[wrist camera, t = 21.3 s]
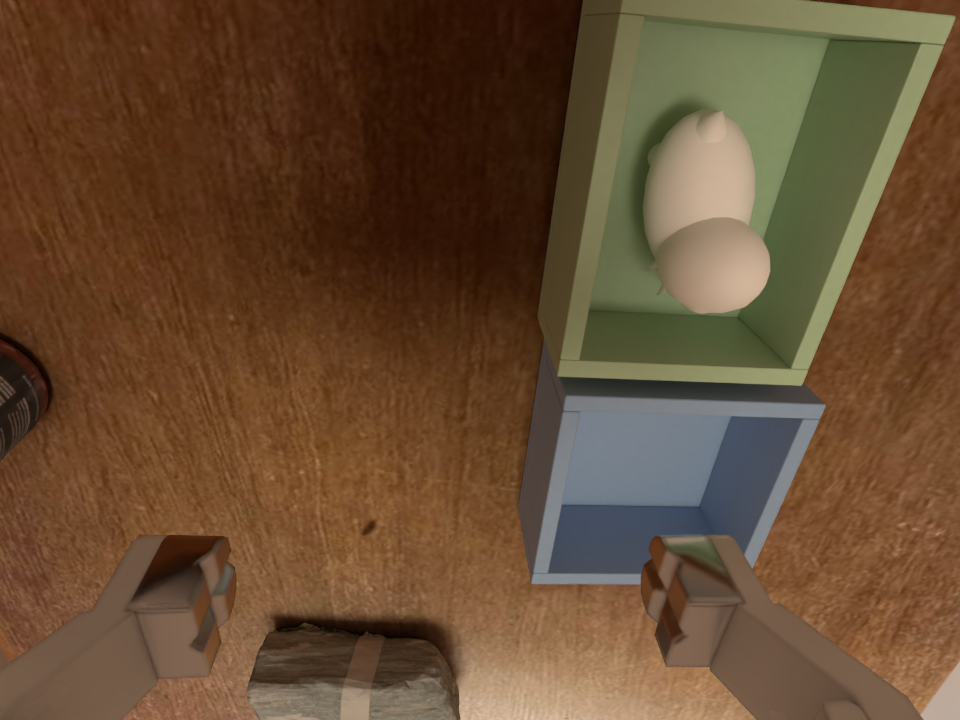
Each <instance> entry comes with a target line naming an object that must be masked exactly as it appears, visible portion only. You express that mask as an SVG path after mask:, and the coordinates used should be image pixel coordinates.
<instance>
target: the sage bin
mask: <svg viewBox="0 0 960 720" xmlns="http://www.w3.org/2000/svg"><path fill="white" fill-rule="evenodd" d="M955 18H956V16H953V15H943V14H933V13H924V12H914V11H905V10H895V9H885V8H876V7H866V6H857V5H847V4H838V3H828V2H818V1H809V0H583V3H582V10H581V17H580V24H579V31H578V38H577V45H576V51H575V58H574V65H573V72H572V79H571V86H570V93H569V100H568V107H567V114H566V121H565V128H564V135H563V142H562V149H561V156H560V163H559V169H558V176H557V183H556V190H555V197H554V204H553V211H552V218H551V225H550V232H549V239H548V246H547V253H546V260H545V267H544V274H543V281H542V287H541V294H540V301H539V308H538V315H537V317H538V320H539V324H540V327H541V330H542V333H543V335H544V338H545V341H546V344H547V347H548V350H549V353H550V356H551V359H552V362H553V365H554V368H555V371H556V374H557V376H558V377H583V378H610V379H636V380H663V381H689V382H716V383H743V384H769V385H796V386H802V384H803V382H804V379H805V377H806V374H807V372H808V369H809V367H810V364H811V362H812V360H813V357H814V355H815V352H816V350H817V348H818V345H819V343H820V340H821V338H822V336H823V333H824V331H825V329H826V326H827V324H828V321H829V319H830V317H831V314H832V312H833V309H834V307H835V305H836V302H837V300H838V297H839V295H840V293H841V290H842V288H843V286H844V283H845V281H846V278H847V276H848V274H849V271H850V269H851V266H852V264H853V262H854V259H855V257H856V254H857V252H858V250H859V247H860V245H861V243H862V240H863V238H864V235H865V233H866V231H867V228H868V226H869V223H870V221H871V219H872V216H873V214H874V211H875V209H876V207H877V204H878V202H879V199H880V197H881V195H882V192H883V190H884V188H885V185H886V183H887V180H888V178H889V176H890V173H891V171H892V168H893V166H894V164H895V161H896V159H897V156H898V154H899V152H900V149H901V147H902V145H903V142H904V140H905V137H906V135H907V133H908V130H909V128H910V125H911V123H912V121H913V118H914V116H915V113H916V111H917V109H918V106H919V104H920V102H921V99H922V97H923V94H924V92H925V90H926V87H927V85H928V82H929V80H930V78H931V75H932V73H933V70H934V68H935V66H936V63H937V61H938V58H939V56H940V54H941V51H942V49H943V44H945V42H946V40H947V37H948V35H949V33H950V30H951V28H952V25H953V23H954V21H955ZM701 109H707V110H715V111H723V113H724V114H726V115H727V116H728V117H729V118H731V119H732V120H733V121H735V122H736V123H737V124H738V125H739V126H740V128H741V130H742V131H743V133H744V135H745V137H746V139H747V141H748V143H749V145H750V148H751V152H752V157H753V162H754V167H755V172H756V173H755V200H754V205H753V210H752V214H751V219H750V223H749V227H750V228H752V229H753V230H754V231H755V232H756V233H758V234H759V235H760V237H761V238H762V239H763V241H764V244H765V246H766V248H767V250H768V252H769V255H770V274H769V277H768V280H767V283H766V286H765V287H764V288H763V290H762V291H761V293H760V294H759V295H758V296H757V297H756V298H755V299H754V300H753V301H752V302H750V303H749V304H748V305H747V306H745V307H744V308H740V309H736V310H732V311H729V312H725V313H705V314H699V313H695V312H693V311H691V310H690V309H689V308H687V307H686V306H684V307H682V304H681V303H680V302H679V301H677V300H676V299H675V298H673V297H672V296H671V295H670V294H669V293H668V292H667V290H666V291H664V292H662V293H661V294H659V295H657V294H658V292H659V290H660V288H661V286H662V282H661V280H660V279H659V275H658V270H657V268H655V269H651V270H647V271H645V270H646V269H647V268H648V267H649V266H650V265H651V264H652V263H653V262H654V261H655V260H656V259H655V258H654V256H653V255H652V253H651V250H650V247H649V244H648V240H647V238H646V234H645V229H644V216H643V200H644V191H645V183H646V178H647V175H648V172H649V169H650V165H649V163H648V159H647V157H648V153H649V151H650V149H651V148H652V147H653V146H655V145H656V144H658V143H661V142H662V140H663V139H664V137H665V135H666V134H667V132H668V131H669V130H670V129H671V128H672V127H673V126H674V125H675V124H677V123H678V122H679V121H680V120H681V119H682V118H683V117H684V116H686V115H689V114H691V113H694V112H696V111H699V110H701Z"/></svg>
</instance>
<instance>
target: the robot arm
mask: <svg viewBox="0 0 960 720" xmlns="http://www.w3.org/2000/svg"><path fill="white" fill-rule="evenodd" d="M230 552H231V548H230V544H229V540H228V538H227V537H224V536H189V535H140V536H139V537H137V538H136V539H135V540H134V541H133V542H132V543H131V545H130V547H129V548H128V550H127V552H126V553H125V555H124V557H123V558H122V560H121V562H120V563H119V565H118V567H117V568H116V570H115V572H114V573H113V575H112V577H111V579H110V580H109V582H108V584H107V585H106V587H105V589H104V590H103V592H102V594H101V595H100V597H99V599H98V600H97V602H96V604H95V605H94V607H93V609H92V611H91V612H81V613H80V614H78V615H77V616H75V617H74V618H73V619H71V620H70V621H68V622H67V623H66V624H64V625H63V626H61V627H60V628H58V629H57V630H56V631H54V632H53V633H51V634H50V635H49V636H47V637H46V638H44V639H43V640H42V641H40V642H39V643H37V644H36V645H34V646H33V647H32V648H30V649H29V650H27V651H26V652H25V653H23V654H22V655H20V656H19V657H17V658H16V659H15V660H13V661H12V662H10V663H9V664H8V665H6V666H5V667H3V668H2V669H1V670H0V720H122V719H123V718H124V717H125V716H126V715H127V714H128V713H129V712H130V711H131V710H132V709H133V708H134V707H135V706H136V705H137V704H138V703H139V702H140V701H141V699H142V698H143V697H144V696H145V695H146V694H147V693H148V692H149V691H150V690H151V689H152V688H153V687H154V686H155V685H156V684H157V683H158V680H157V679H174V678H194V677H209V674H210V672H211V669H212V666H213V663H214V660H215V658H216V655H217V652H218V649H219V646H220V644H221V639H220V635H219V630H218V629H219V628H220V627H221V626H222V625H223V624H224V623H225V622H227V621H228V620H229V618H230V615H231V612H232V609H233V606H234V600H235V594H236V572H235V567H234V566H233V565H231V564H230V563H229V562H228V561H227V559H228V557H229V554H230ZM649 552H650V554H651V557H652V558H651V559H650V560H649V561H648V562H646V563H645V564H644V566H643V570H642V574H641V594H642V599H643V603H644V606H645V609H646V612H647V614H648V615H649V616H650V617H651V618H652V619H653V620H655V621H656V622H657V623H658V625H657V628H656V631H655V634H654V635H655V637H656V640H657V643H658V646H659V648H660V651H661V654H662V657H663V659H664V662H665V665H666V667H710V671H711V672H712V673H713V674H714V675H715V676H716V677H717V678H718V679H719V680H720V681H721V682H722V683H723V684H724V685H725V686H726V688H727V689H728V690H729V691H730V692H731V693H732V694H733V695H734V696H735V697H736V698H737V699H738V700H739V701H740V702H741V703H742V705H743V706H744V707H745V708H746V709H747V710H748V711H749V712H750V713H751V714H752V715H753V716H754V717H755V718H756V719H757V720H923V719H922V717H921V716H920V714H919V713H918V711H917V710H916V709H915V707H914V706H913V704H912V703H911V701H910V700H909V699H908V697H907V696H906V695H904V694H903V693H901V692H900V691H899V690H897V689H896V688H895V687H893V686H892V685H891V684H889V683H888V682H886V681H885V680H884V679H882V678H881V677H880V676H878V675H877V674H876V673H874V672H873V671H871V670H870V669H869V668H867V667H866V666H865V665H863V664H862V663H861V662H859V661H858V660H856V659H855V658H854V657H852V656H851V655H850V654H848V653H847V652H846V651H844V650H843V649H841V648H840V647H839V646H837V645H836V644H835V643H833V642H832V641H831V640H829V639H828V638H826V637H825V636H824V635H822V634H821V633H820V632H818V631H817V630H816V629H814V628H813V627H811V626H810V625H809V624H807V623H806V622H805V621H803V620H802V619H801V618H799V617H798V616H796V615H795V614H794V613H792V612H791V611H790V610H788V609H787V608H786V607H784V606H783V605H781V604H774V603H772V601H771V600H770V598H769V596H768V595H767V593H766V591H765V589H764V588H763V586H762V584H761V583H760V581H759V579H758V578H757V576H756V574H755V572H754V571H753V569H752V567H751V566H750V564H749V562H748V561H747V559H746V557H745V556H744V554H743V552H742V550H741V549H740V547H739V545H738V544H737V542H736V540H735V539H734V538H733V537H732V536H731V535H655V536H654V537H653V538H652V539H651V542H650V545H649Z"/></svg>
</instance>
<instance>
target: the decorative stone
mask: <svg viewBox="0 0 960 720" xmlns="http://www.w3.org/2000/svg"><path fill="white" fill-rule="evenodd" d="M313 625H314V624H311V625H310V624H307V623H303V624H301V625H300V626H299V625H298V626H299V627H296V628H287V629H280V630H278V631H277V630H275V631H274V632H269V633H268V634H267V636H266V638H265V640H264V642H263V645H262V646H261V647H260V649H259V651H258V653H257V657H256V662H255V665H254V668H253V672H252V675H251V677H250V680H249V683H248V687H247V699H248V701H249V703H250V706H251V707H252V709H254V710H255V713H256V715H257V717H258V718H259V720H460V714H459V690H458V687H457V685H456V682H455V680H454V679H453V677H452V675H451V671H450V668H449V666H448V664H447V662H446V659H445V658H444V657H443V656H442V655H441V653H440V652H439V650H438V649H437V648H436V646H435V645H433V644H432V643H431V642H429V641H427V640H426V641H425V640H423V639H416V638H399V639H398V638H393V637H389V638H385V637H384V636H382V635H379V634H374V635H373V634H371V633H370V634H369V633H368V632H365V633H364V634H363V635H362V636H359V635H358V634H351V633H349V632H347V631H342V630H339V629H337V630H336V629H335V628H326V627H321V628H317V627H318V626H313Z"/></svg>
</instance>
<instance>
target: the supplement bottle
mask: <svg viewBox="0 0 960 720" xmlns="http://www.w3.org/2000/svg"><path fill="white" fill-rule="evenodd" d="M47 404H48V390H47V385H46V382H45V380H44V378H43V376H42V374H41V373H40V372H39V370H38V368H37V367H36V366H35V364H34V363H33V362H32V361H31V360H30V359H29V358H28V357H26V356H25V355H24V354H23V353H21V352H20V351H19V350H18V349H16V348H14V347H13V346H12V345H10V344H9V343H6V342H4V341H3V340H1V339H0V461H1V460H2V459H3V458H4V457H5V456H6V454H7V453H8V452H10V451H11V449H12V448H14V446H15V445H16V444H17V443H18V442H19V441H20V440H21V439H22V438H23V437H24V436H25V435H26V434H27V433H28V432H29V431H30V430H31V429H32V428H33V427H34V426H35V424H36V423H37V422H38V421H39V420H40V419H41V418H42V416H43V415H44V413H45V410H46V408H47Z"/></svg>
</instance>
